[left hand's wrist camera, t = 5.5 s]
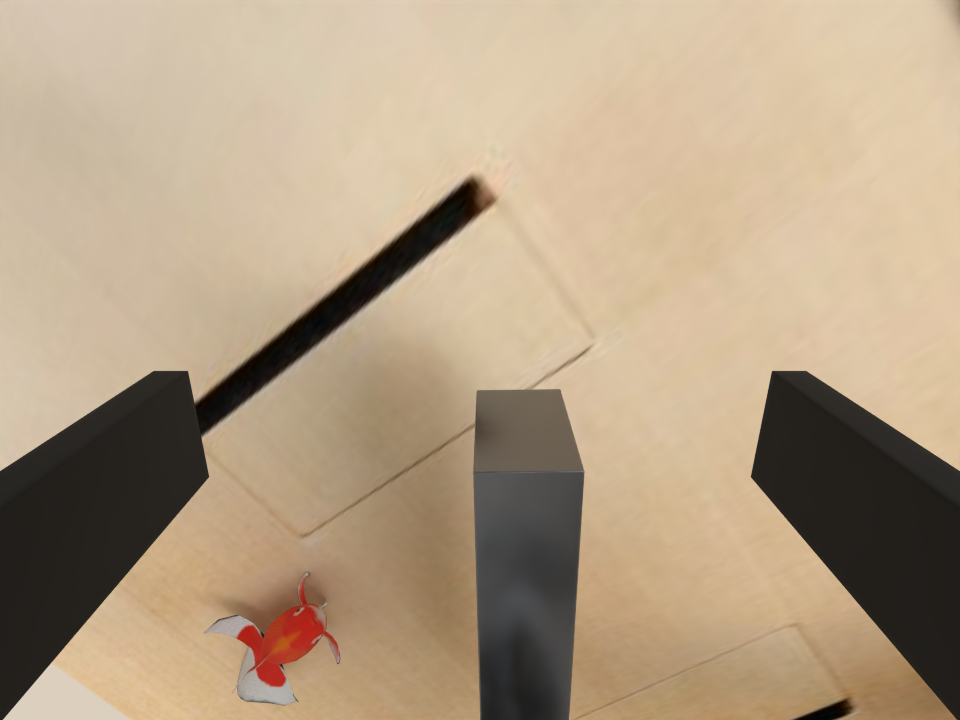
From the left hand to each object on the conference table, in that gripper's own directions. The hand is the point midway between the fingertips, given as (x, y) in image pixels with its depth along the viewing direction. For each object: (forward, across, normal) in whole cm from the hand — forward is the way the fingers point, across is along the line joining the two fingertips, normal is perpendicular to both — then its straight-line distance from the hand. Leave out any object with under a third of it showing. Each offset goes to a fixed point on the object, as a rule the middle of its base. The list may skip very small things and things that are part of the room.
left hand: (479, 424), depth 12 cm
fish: (+30, -19, -36) cm, 51 cm away
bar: (+18, +2, -23) cm, 30 cm away
